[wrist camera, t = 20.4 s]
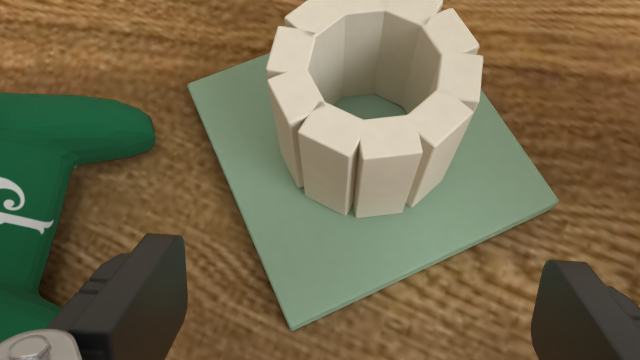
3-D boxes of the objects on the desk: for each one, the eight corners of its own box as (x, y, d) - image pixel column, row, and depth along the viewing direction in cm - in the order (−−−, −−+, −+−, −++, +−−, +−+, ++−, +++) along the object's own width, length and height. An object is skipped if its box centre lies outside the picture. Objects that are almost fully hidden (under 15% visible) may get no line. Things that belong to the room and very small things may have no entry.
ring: (326, 247, 17) (324, 195, 13) (256, 102, 20) (236, 20, 16) (483, 176, 18) (526, 107, 14) (398, 46, 21) (415, -46, 17)
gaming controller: (124, 143, 22) (-40, 80, 18) (168, 112, 19) (-12, 32, 16) (66, 378, 18) (-154, 357, 15) (111, 379, 16) (-143, 354, 12)
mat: (291, 332, 17) (289, 328, 16) (191, 95, 21) (186, 83, 20) (552, 209, 19) (560, 201, 18) (414, 9, 22) (417, -5, 22)
